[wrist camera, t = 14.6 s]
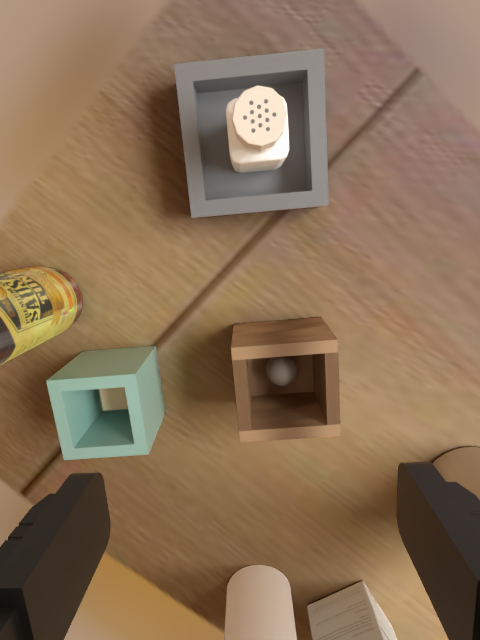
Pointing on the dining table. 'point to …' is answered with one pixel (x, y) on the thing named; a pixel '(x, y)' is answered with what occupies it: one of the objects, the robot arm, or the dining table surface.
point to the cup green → (108, 403)
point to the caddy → (212, 135)
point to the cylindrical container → (259, 605)
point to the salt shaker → (257, 130)
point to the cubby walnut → (286, 379)
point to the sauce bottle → (35, 308)
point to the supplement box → (349, 616)
